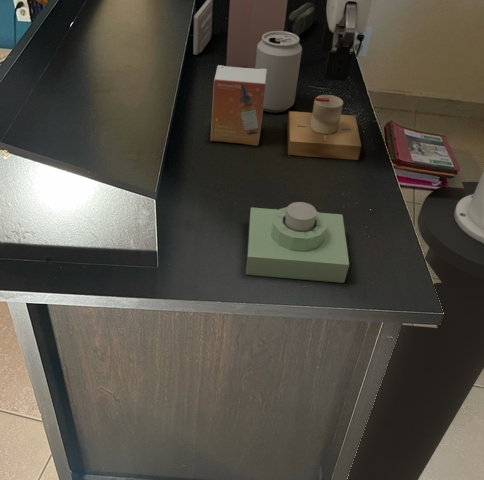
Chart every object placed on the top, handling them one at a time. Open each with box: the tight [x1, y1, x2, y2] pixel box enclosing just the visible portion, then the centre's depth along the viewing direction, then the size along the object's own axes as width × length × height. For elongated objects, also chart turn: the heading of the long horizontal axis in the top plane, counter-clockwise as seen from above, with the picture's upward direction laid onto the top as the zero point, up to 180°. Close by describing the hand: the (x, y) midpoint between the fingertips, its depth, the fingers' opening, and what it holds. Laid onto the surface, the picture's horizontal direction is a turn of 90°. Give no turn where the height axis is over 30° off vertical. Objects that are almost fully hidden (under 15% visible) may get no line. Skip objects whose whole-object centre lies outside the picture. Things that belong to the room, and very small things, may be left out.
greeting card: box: [225, 0, 289, 69], centre depth 109 cm, size 11×7×15 cm, turn 105°
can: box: [255, 30, 303, 114], centre depth 99 cm, size 8×8×12 cm
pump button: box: [285, 201, 317, 232], centre depth 70 cm, size 4×4×2 cm
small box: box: [209, 64, 267, 147], centre depth 92 cm, size 8×6×10 cm
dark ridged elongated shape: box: [285, 2, 316, 37], centre depth 127 cm, size 5×3×15 cm
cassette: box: [192, 0, 214, 56], centre depth 120 cm, size 12×2×8 cm, turn 164°
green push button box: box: [245, 206, 350, 284], centre depth 72 cm, size 12×10×5 cm
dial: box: [310, 94, 344, 134], centre depth 91 cm, size 4×4×5 cm
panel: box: [286, 110, 362, 161], centre depth 94 cm, size 11×10×3 cm
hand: (332, 64), depth 86 cm, fingers open, 9 cm apart
